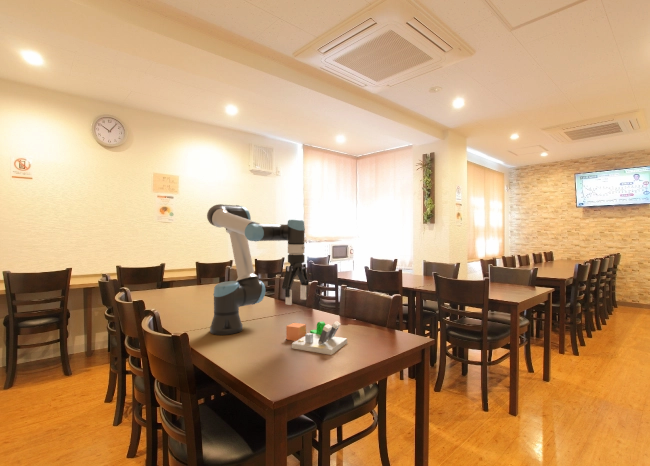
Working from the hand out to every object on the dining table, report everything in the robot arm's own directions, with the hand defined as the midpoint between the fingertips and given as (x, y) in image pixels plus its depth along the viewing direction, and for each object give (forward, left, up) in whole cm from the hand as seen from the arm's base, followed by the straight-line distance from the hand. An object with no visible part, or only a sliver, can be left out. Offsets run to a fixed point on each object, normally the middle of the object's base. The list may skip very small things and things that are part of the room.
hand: (296, 301), depth 153 cm
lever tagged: (+17, -8, -13) cm, 23 cm away
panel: (+14, -4, -16) cm, 22 cm away
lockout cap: (0, 0, -16) cm, 16 cm away
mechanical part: (+9, +8, -17) cm, 21 cm away
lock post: (+11, -8, -14) cm, 20 cm away
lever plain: (+17, -1, -13) cm, 22 cm away
